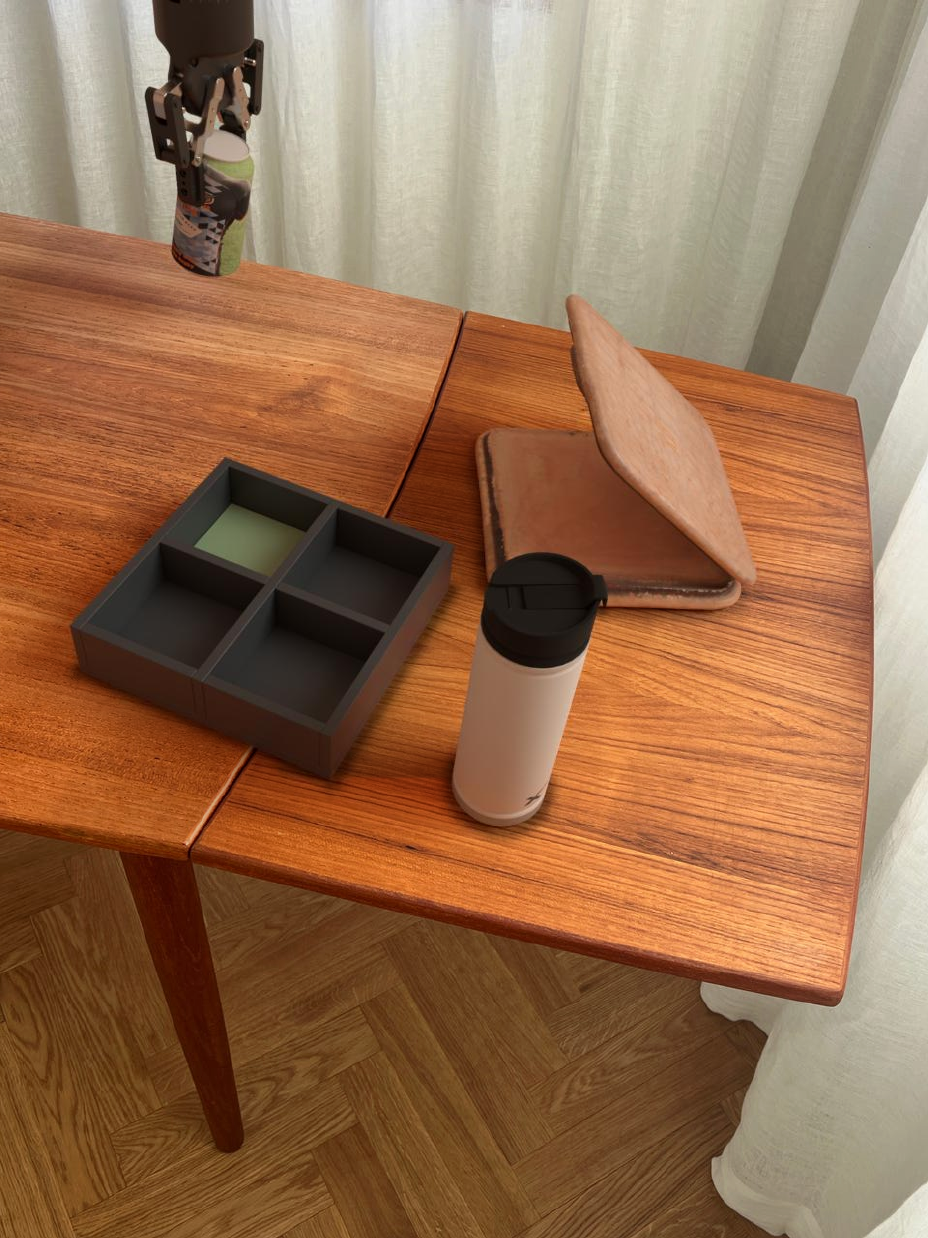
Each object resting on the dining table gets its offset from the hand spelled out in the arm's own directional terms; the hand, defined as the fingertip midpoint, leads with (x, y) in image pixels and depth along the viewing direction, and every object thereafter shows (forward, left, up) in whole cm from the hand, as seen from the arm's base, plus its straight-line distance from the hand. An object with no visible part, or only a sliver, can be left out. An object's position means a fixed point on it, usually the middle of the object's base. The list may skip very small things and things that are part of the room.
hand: (213, 186), depth 95 cm
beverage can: (0, 0, -8) cm, 8 cm away
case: (+41, -8, -14) cm, 44 cm away
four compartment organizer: (+23, -31, -13) cm, 41 cm away
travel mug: (+43, -36, -14) cm, 58 cm away
